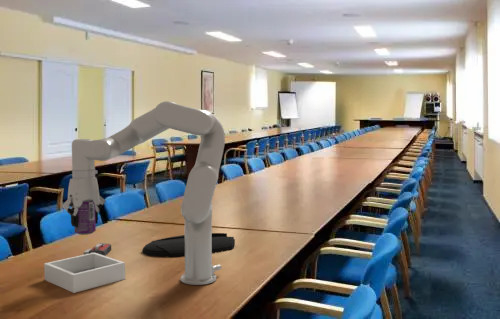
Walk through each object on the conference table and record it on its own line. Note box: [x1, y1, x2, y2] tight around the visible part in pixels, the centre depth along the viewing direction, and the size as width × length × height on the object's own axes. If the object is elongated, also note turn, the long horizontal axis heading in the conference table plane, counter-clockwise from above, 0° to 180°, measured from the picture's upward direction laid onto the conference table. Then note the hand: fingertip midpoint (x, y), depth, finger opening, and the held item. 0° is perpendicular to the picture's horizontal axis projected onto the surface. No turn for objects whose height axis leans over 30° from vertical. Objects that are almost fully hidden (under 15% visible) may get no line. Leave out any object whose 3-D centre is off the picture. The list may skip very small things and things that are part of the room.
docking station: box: [141, 232, 236, 258], centre depth 234 cm, size 25×40×5 cm, turn 116°
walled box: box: [43, 252, 126, 294], centre depth 191 cm, size 20×20×6 cm
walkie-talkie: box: [83, 242, 112, 256], centre depth 223 cm, size 9×4×20 cm
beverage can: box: [74, 200, 97, 236], centre depth 189 cm, size 7×7×12 cm
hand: (84, 224), depth 189 cm, fingers closed on beverage can, 7 cm apart
